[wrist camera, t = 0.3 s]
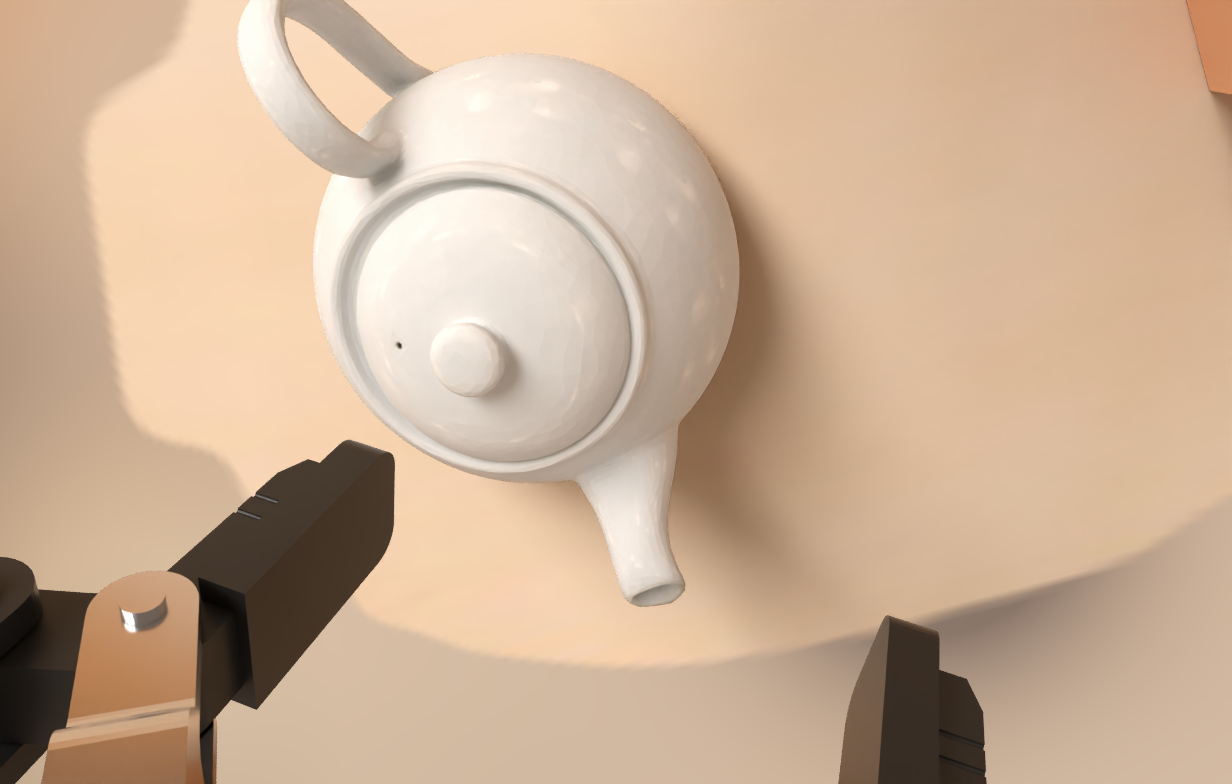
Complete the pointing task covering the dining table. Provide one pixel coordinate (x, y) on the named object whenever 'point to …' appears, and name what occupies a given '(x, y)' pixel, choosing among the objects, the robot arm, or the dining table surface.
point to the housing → (1214, 40)
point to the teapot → (515, 267)
